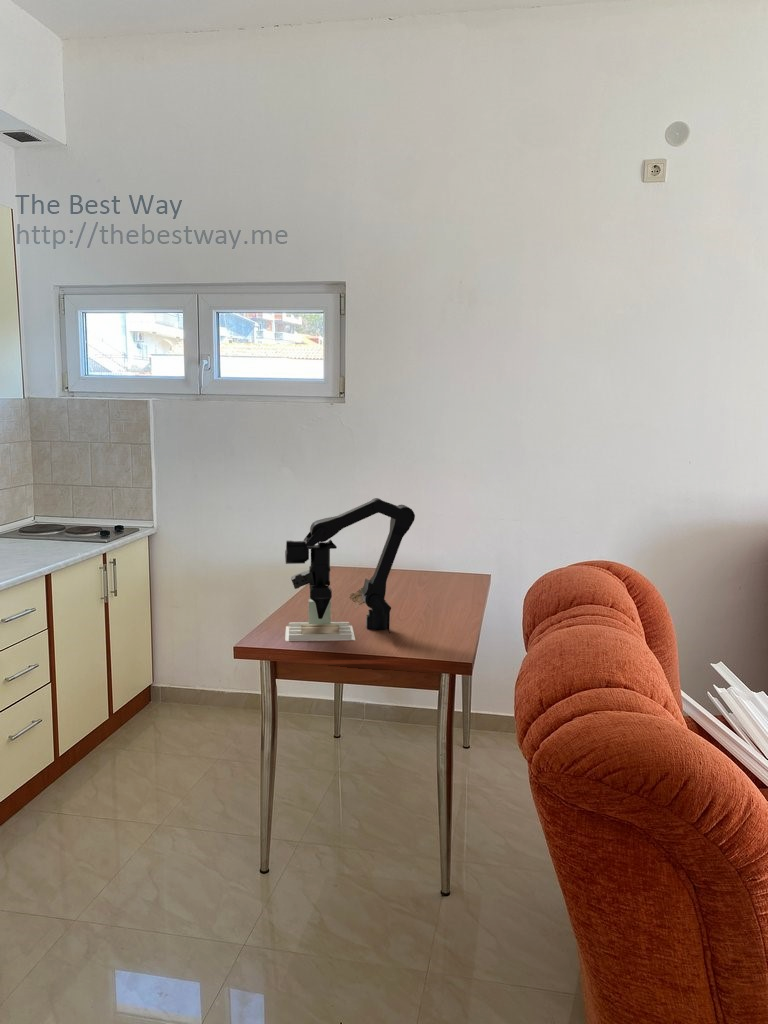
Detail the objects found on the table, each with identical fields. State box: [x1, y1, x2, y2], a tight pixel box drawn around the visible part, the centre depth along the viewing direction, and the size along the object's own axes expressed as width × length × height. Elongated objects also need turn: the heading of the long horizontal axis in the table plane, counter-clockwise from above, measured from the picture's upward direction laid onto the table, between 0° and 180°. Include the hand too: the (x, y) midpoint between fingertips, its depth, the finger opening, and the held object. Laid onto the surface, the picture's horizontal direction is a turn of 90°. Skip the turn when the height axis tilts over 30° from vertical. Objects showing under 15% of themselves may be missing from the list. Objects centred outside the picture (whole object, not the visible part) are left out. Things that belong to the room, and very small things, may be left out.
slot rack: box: [284, 621, 356, 642], centre depth 231 cm, size 20×15×2 cm
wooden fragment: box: [348, 587, 365, 605], centre depth 283 cm, size 26×11×1 cm, turn 164°
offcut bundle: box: [301, 624, 339, 634], centre depth 227 cm, size 11×3×4 cm, turn 96°
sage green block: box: [308, 598, 332, 624], centre depth 234 cm, size 6×3×9 cm, turn 96°
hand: (319, 614), depth 234 cm, fingers open, 9 cm apart
